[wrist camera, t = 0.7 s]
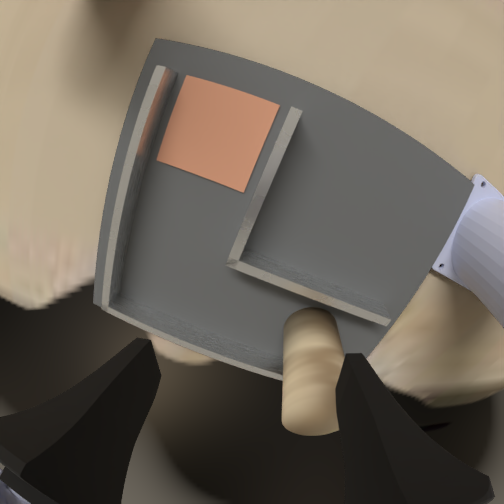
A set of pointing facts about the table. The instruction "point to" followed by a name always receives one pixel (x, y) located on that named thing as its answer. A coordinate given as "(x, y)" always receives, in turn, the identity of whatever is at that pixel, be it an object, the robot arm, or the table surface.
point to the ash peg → (311, 372)
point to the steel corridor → (237, 259)
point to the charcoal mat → (275, 201)
